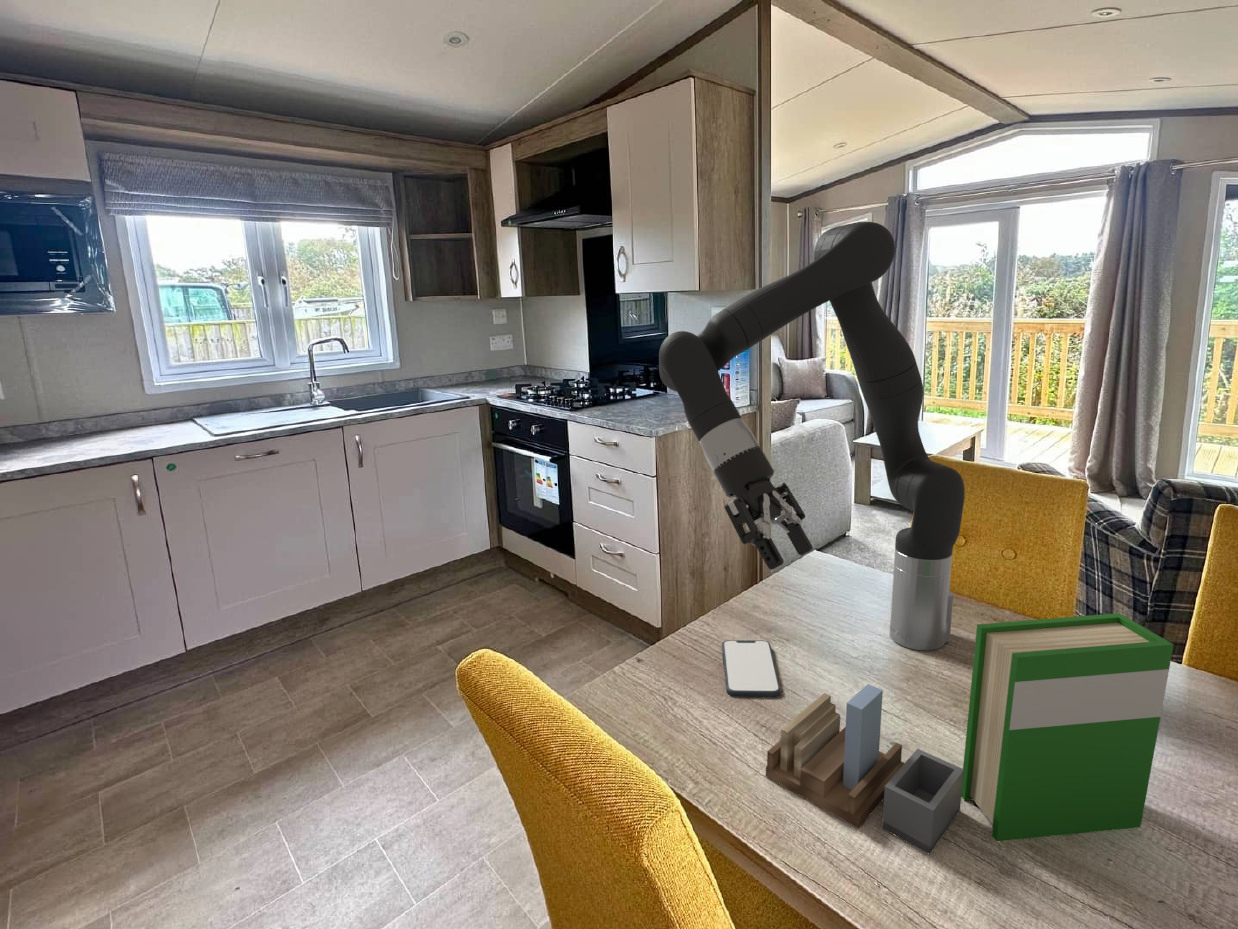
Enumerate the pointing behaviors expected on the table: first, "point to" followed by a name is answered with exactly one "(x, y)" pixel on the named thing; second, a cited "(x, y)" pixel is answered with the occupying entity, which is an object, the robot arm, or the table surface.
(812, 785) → the rack
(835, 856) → the table surface
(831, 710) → the offcut stack
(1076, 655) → the hardback book
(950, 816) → the bin
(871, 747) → the blue-grey rectangular block
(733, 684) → the notched smartphone
